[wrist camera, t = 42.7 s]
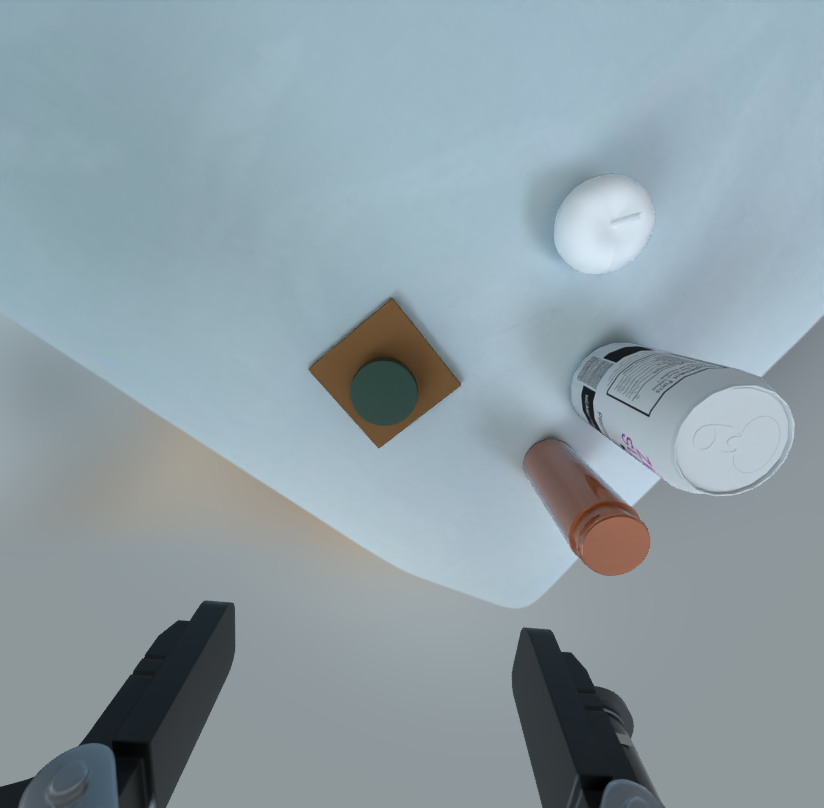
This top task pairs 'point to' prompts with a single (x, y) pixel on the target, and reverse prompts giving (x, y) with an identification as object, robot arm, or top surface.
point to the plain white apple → (604, 224)
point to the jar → (586, 509)
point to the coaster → (387, 339)
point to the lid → (384, 391)
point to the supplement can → (685, 417)
